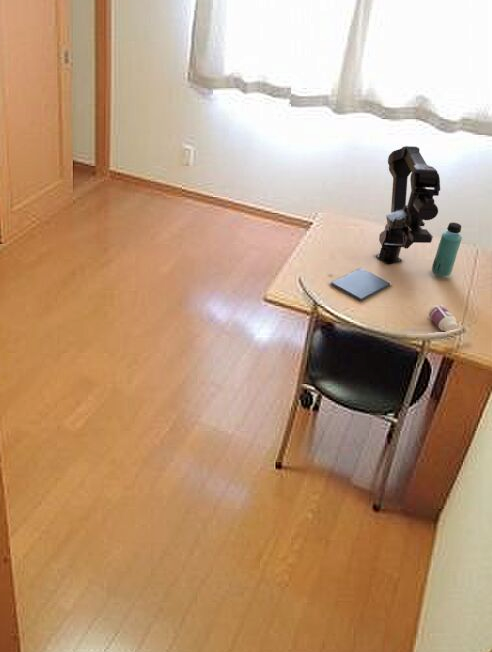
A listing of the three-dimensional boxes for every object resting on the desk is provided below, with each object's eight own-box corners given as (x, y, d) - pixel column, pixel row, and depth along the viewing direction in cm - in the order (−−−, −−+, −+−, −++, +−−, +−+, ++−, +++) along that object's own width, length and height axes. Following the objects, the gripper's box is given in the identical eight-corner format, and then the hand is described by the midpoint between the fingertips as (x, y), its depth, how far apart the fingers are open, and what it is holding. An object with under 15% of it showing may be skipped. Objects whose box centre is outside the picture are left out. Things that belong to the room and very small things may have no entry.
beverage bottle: (452, 275, 226) (469, 224, 215) (445, 282, 221) (461, 231, 211) (434, 268, 229) (449, 217, 219) (426, 275, 225) (441, 224, 215)
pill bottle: (429, 320, 204) (444, 339, 196) (426, 307, 201) (441, 326, 193) (446, 313, 203) (462, 332, 195) (443, 301, 201) (459, 319, 193)
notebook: (360, 270, 227) (360, 267, 226) (389, 286, 219) (390, 283, 218) (330, 285, 218) (331, 282, 218) (360, 301, 210) (361, 298, 210)
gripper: (382, 193, 216) (372, 234, 224) (403, 219, 200) (392, 262, 209) (414, 193, 217) (403, 234, 225) (439, 219, 201) (426, 262, 209)
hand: (405, 248), depth 217 cm, fingers closed
